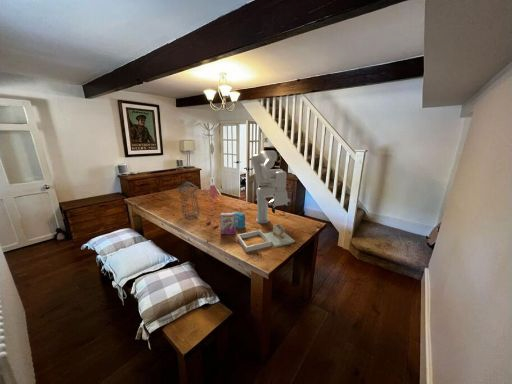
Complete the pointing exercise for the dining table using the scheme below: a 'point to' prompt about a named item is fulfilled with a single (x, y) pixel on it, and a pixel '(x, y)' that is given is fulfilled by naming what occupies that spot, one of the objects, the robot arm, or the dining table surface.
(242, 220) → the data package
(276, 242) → the sage board
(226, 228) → the candy bar box
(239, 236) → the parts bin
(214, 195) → the figurine
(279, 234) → the beech box
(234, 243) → the dining table surface
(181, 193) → the geometric lantern
